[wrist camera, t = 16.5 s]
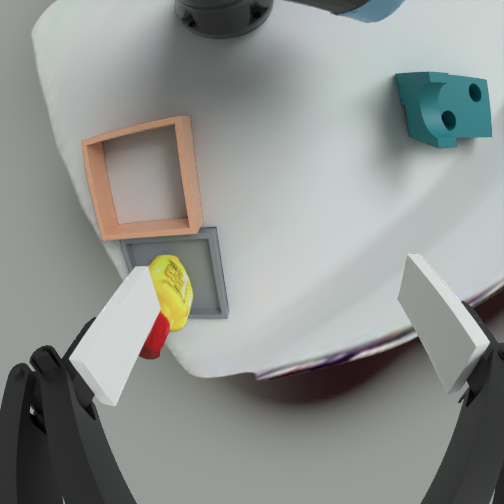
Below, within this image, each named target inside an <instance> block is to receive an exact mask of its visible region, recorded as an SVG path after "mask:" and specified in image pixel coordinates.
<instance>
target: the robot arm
mask: <svg viewBox="0 0 504 504" xmlns="http://www.w3.org/2000/svg"><path fill="white" fill-rule="evenodd" d="M284 1H289V2H294V3H299V4H303V5H307V6H311V7H315V8H319V9H322V10H326V11H329V12H330V13H331V14H334V15H336V16H345V17H348V18H352V19H355V20H358V21H361V22H366V23H369V22H378V21H381V20H383V19H385V18H387V17H388V16H390V15H391V14H392V13H393V12H394V11H396V10H397V9H398V8H399V7H400V5H401V4H402V3H403V2H404V1H405V0H284ZM272 8H273V0H175V9H176V13H177V15H178V17H179V19H180V21H181V22H182V23H183V24H184V25H185V26H186V27H187V28H188V29H189V30H191V31H192V32H194V33H196V34H198V35H200V36H203V37H207V38H214V39H225V38H233V37H237V36H240V35H243V34H246V33H248V32H250V31H252V30H254V29H256V28H257V27H258V26H260V25H261V24H262V23H263V22H264V21H265V20H266V19H267V18H268V16H269V15H270V13H271V11H272ZM398 300H399V302H400V304H401V305H402V307H403V309H404V311H405V312H406V314H407V316H408V318H409V320H410V321H411V323H412V325H413V327H414V329H415V331H416V332H417V334H418V336H419V338H420V340H421V342H422V344H423V346H424V348H425V350H426V352H427V354H428V356H429V358H430V360H431V362H432V363H433V366H434V368H435V370H436V372H437V374H438V376H439V379H440V381H441V383H442V386H443V388H444V390H445V392H446V394H450V393H453V392H455V391H458V390H460V389H461V388H462V386H463V385H464V384H465V382H466V381H467V382H468V384H469V387H468V389H467V390H466V391H465V393H464V394H463V395H462V397H461V398H460V400H459V402H458V403H460V402H461V401H462V400H463V399H464V401H463V405H462V408H461V411H460V415H459V418H458V421H457V424H456V427H455V430H454V433H453V435H452V438H451V441H450V443H449V446H448V449H447V451H446V453H445V456H444V458H443V461H442V463H441V465H440V467H439V469H438V472H437V474H436V476H435V478H434V480H433V482H432V484H431V486H430V488H429V490H428V492H427V493H426V495H425V497H424V499H423V500H422V502H421V504H489V503H490V500H491V498H492V495H493V492H494V489H495V494H494V498H493V503H492V504H504V343H498V342H497V341H496V339H495V338H494V337H493V335H492V334H491V332H490V331H489V329H488V328H487V327H486V325H485V324H484V323H483V322H482V320H481V318H480V317H479V316H478V315H477V313H476V312H475V311H474V309H473V308H472V307H471V306H470V305H468V304H467V303H465V302H464V301H462V302H461V301H460V300H459V299H458V298H457V296H456V295H455V294H454V293H453V291H452V290H451V289H450V288H449V287H448V285H447V284H446V283H445V282H444V281H443V279H442V278H441V277H440V276H439V275H438V274H437V273H436V271H435V270H434V269H433V268H432V267H431V266H430V265H429V263H428V262H427V261H426V260H425V259H424V258H423V257H422V256H421V255H420V254H407V260H406V265H405V270H404V274H403V279H402V283H401V288H400V292H399V296H398ZM160 310H161V307H160V304H159V301H158V298H157V295H156V292H155V288H154V285H153V282H152V278H151V275H150V272H149V268H148V266H135V268H134V269H133V270H132V271H131V273H130V274H129V275H128V276H127V278H126V279H125V280H124V282H123V283H122V284H121V285H120V287H119V288H118V289H117V291H116V292H115V293H114V295H113V296H112V297H111V299H110V300H109V301H108V303H107V304H106V305H105V307H104V308H103V310H102V311H101V312H100V314H99V315H98V317H97V318H96V317H94V318H93V319H91V320H90V321H89V322H88V323H86V324H85V326H84V327H83V329H82V330H81V331H80V333H79V334H78V336H77V337H76V340H74V341H73V343H72V344H71V346H70V347H69V349H68V350H67V352H66V353H65V355H64V356H63V358H62V359H61V358H60V357H59V355H58V354H57V352H56V351H55V349H54V348H53V347H52V346H48V345H46V346H42V347H40V348H38V349H37V350H36V351H35V352H34V353H33V354H32V356H31V358H30V364H31V365H32V366H33V368H34V369H35V370H36V371H32V370H31V369H30V368H29V366H28V365H27V364H25V363H20V364H17V365H15V366H14V367H13V368H12V370H11V371H10V373H9V375H8V379H7V383H6V387H5V391H4V395H3V399H2V405H1V409H0V504H63V499H64V501H65V504H137V503H136V501H135V500H134V498H133V496H132V494H131V492H130V490H129V488H128V486H127V484H126V482H125V480H124V478H123V476H122V474H121V472H120V470H119V468H118V465H117V463H116V461H115V458H114V456H113V454H112V451H111V449H110V446H109V444H108V441H107V439H106V436H105V433H104V431H103V428H102V425H101V422H100V419H99V416H98V413H97V410H96V406H95V404H94V403H93V401H92V399H93V397H94V395H95V396H96V397H97V398H98V399H99V401H100V402H101V403H104V404H108V405H112V406H116V404H117V402H118V399H119V397H120V395H121V392H122V390H123V388H124V386H125V383H126V381H127V379H128V377H129V374H130V372H131V370H132V368H133V366H134V364H135V361H136V359H137V357H138V355H139V353H140V351H141V349H142V347H143V345H144V342H145V340H146V338H147V336H148V334H149V332H150V330H151V328H152V326H153V324H154V322H155V320H156V318H157V316H158V314H159V312H160ZM30 407H32V409H33V410H34V413H33V415H32V414H31V413H30ZM62 496H63V498H62Z"/></svg>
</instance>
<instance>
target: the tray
mask: <svg viewBox="0 0 504 504" xmlns="http://www.w3.org/2000/svg"><path fill="white" fill-rule="evenodd" d="M120 243H121V247H122V250H123V253H124V257H125V260H126V263H127V267H128V270H129V273H131V271H132V270H133V269H134V268H135V266H148V265H149V264H150V263H151V261H152V260H153V259H154V258H155V257H156V256H158V255H173V256H177V257H178V258H179V261H180V263H181V264H182V265H183V266H184V268H185V270H186V273H187V275H188V277H189V279H190V283H191V287H192V290H193V301H192V305H191V309H190V312H189V315H188V318H203V319H228V314H229V307H228V301H227V295H226V288H225V282H224V276H223V269H222V263H221V256H220V249H219V242H218V235H217V228H216V227H205V228H200V230H199V231H198V233H197V234H184V235H170V236H156V237H142V238H130V239H120Z"/></svg>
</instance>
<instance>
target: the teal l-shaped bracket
mask: <svg viewBox="0 0 504 504" xmlns="http://www.w3.org/2000/svg"><path fill="white" fill-rule="evenodd" d="M395 76H396V81H397V86H398V91H399V96H400V101H401V105H405V109H406V116H407V123H408V132H409V137H411V138H414V139H417V140H419V141H422V142H424V143H427V144H429V145H432V146H434V147H436V148H450V147H457V144H456V138H470V137H492V125H491V112H490V102H489V94H488V87H487V80H485V79H479V78H472V77H464V76H456V75H448V73H440V72H413V73H399V74H395ZM442 114H444V123H443V121H442V119H441V116H442Z"/></svg>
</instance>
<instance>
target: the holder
mask: <svg viewBox="0 0 504 504" xmlns="http://www.w3.org/2000/svg"><path fill="white" fill-rule="evenodd" d="M171 125H175V130H176V139H177V147H178V155H179V162H180V169H181V176H182V183H183V190H184V196H185V202H186V208H187V214H188V218H179V219H168V220H157V221H147V222H137V223H127V224H118V220H117V216H116V211H115V207H114V203H113V198H112V193H111V189H110V184H109V179H108V173H107V168H106V162H105V156H104V150H103V143H102V142H103V141H107V140H110V139H114V138H118V137H121V136H125V135H129V134H133V133H138V132H142V131H146V130H151V129H156V128H161V127H166V126H171ZM81 143H82V149H83V156H84V162H85V167H86V173H87V178H88V183H89V188H90V192H91V197H92V201H93V205H94V209H95V213H96V217H97V221H98V225H99V229H100V232H101V236H102V239H103V241H105V240H117V239H130V238H142V237H156V236H170V235H184V234H197V233H198V231H199V230H200V228H201V226H202V225H203V223H204V218H203V212H202V205H201V198H200V191H199V183H198V176H197V168H196V161H195V152H194V144H193V135H192V126H191V117H190V116H176V117H170V118H165V119H160V120H156V121H151V122H147V123H143V124H138V125H134V126H130V127H127V128H123V129H119V130H115V131H112V132H109V133H105V134H102V135H99V136H95V137H92V138H89V139H86V140H83V141H81Z"/></svg>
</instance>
